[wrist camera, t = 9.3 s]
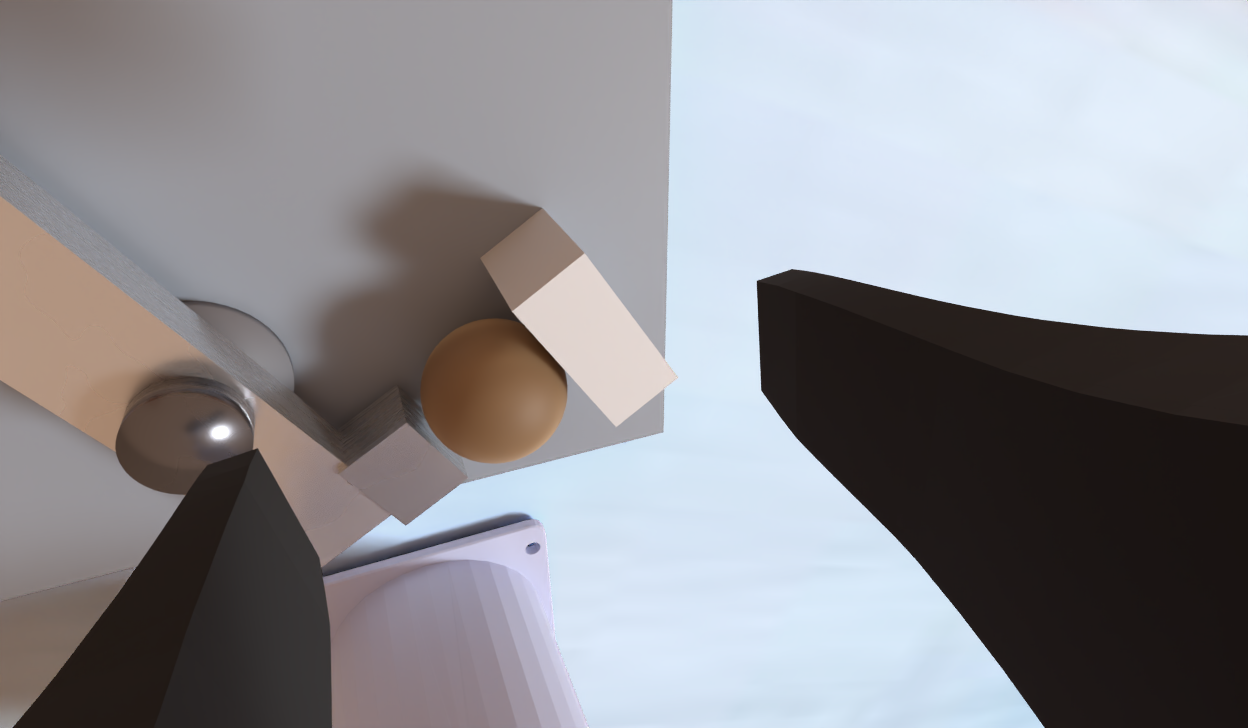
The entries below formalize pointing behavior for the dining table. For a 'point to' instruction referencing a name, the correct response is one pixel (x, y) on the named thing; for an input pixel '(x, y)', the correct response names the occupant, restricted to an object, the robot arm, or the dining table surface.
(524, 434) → the brown sphere
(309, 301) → the flat white platform
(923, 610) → the dining table surface
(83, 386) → the lever
